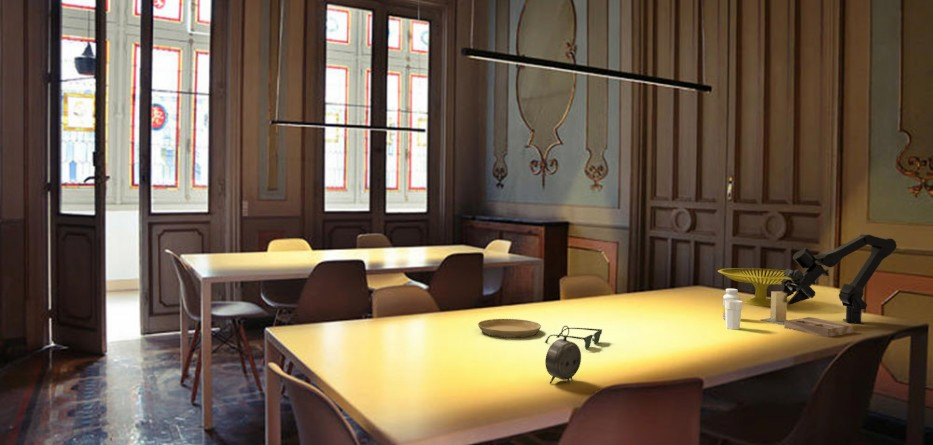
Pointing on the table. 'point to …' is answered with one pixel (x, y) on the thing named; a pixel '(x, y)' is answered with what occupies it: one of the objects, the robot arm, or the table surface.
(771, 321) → the slate mat
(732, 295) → the supplement bottle
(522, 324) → the plant saucer
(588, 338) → the sunglasses
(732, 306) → the cup
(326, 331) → the table surface
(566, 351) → the alarm clock
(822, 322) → the two-hole peg block
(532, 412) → the table surface
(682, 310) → the table surface
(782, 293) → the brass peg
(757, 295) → the slatted pedestal fruit bowl
